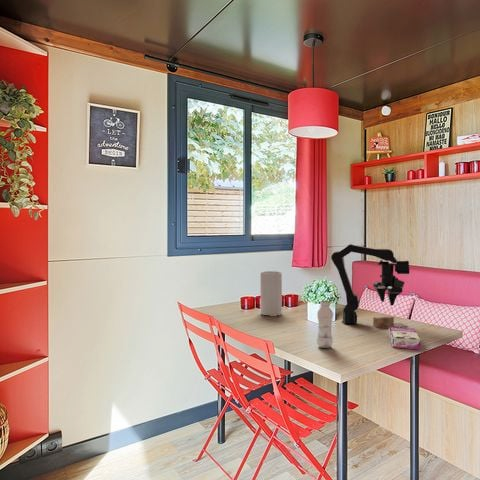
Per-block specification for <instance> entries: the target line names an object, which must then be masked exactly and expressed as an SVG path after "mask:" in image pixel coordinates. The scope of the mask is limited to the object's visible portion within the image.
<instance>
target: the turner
mask: <svg viewBox="0 0 480 480" xmlns="http://www.w3.org/2000/svg"><path fill="white" fill-rule="evenodd" d="M394 320H395V317H394V316H391V315H390V316H374V317H373V321H372V323H373V328H375V329H381V328H380V327H384V328H389V327H398V328H399V327H401V328H408V327H409V325H407V324H405V323H402V322H397V323H395V322H394Z"/></svg>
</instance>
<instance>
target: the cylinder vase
mask: <svg viewBox="0 0 480 480" xmlns="http://www.w3.org/2000/svg"><path fill="white" fill-rule="evenodd" d="M282 273H283V272H282V271H274V270H272V271H271V270H266V271H260V314H261V315H262V314H263V315H262V316H264V315H270V316H269V317H276V316H275V315H279V316H282V313H283V307H282V305H283V303H282V302H283V299H282V298H283V296H282V295H283V293H282V290H283V289H282V288H283V287H282V284H283V283H282V282H283V279H282V278H283V275H282Z"/></svg>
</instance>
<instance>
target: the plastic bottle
mask: <svg viewBox="0 0 480 480" xmlns="http://www.w3.org/2000/svg"><path fill="white" fill-rule="evenodd" d="M330 305H331V304H330V300H329V301H328V300H320V307H319V309H318V310H317V314H316V315H317V320H318V322H317V323H318V331H317V338H316V344H317V346H318V347H319V348H322V349H329V348H332V346H333V345H334V341H333V337H332V336H333V334H332V332H333V331H332V327H333V326H332V323H333V318H334V317H333V316H334V312H333V310H332V309H331V308H330Z"/></svg>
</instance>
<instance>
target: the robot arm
mask: <svg viewBox="0 0 480 480" xmlns="http://www.w3.org/2000/svg"><path fill="white" fill-rule="evenodd" d="M350 253H356V254H361V255H366V256H372V257H376V258H378V259H380V261H379V262H377V265H379V266H381V274H380V275H379V277H380V278H381V281H374V282H373V288H374V289H375V291H376V293H377V294H378V296H379V299H380V301H381V302H382V303H383V302H385V299H386V297H385V295H386V294H387V296H388V301H389V304H390V306H394V304H395V302H396V299H397V297H398V295H401V294H402V293H403V292H404V291H403V289H404V286H405V281H403V280H401V279H399V278H398V277H396V275H394V272H395V273H397V275H410V261H409V260H398V259H397V258H396V257H395V256H394V251H392V249H390V248H373V247H367V246H361V245H355V244H353V243H351V244H348V245H347V246H346V247H344V248H343V249H341V250H340V251H335V252H333V253H332V254H331V257H330V258H331V261H332V262H333V264H334V266H335V267H336V270H337V272H338V275H339V277H340V278H339V279H340V281H341V283H342V287H343V289H344V292H345V297H346V298H345V299H346V304H345V305H344V307H343V309H342V310H343V311H342V321H341V322H342V323H343V324H344V325H346V326H350V325H353V326H354V325H358V314H357V312H356V311H357V310H358V309H359V307H360V302H361V299H360V298H359V294H358V293H355V292H354V290H353V288H352V287H353V286H352V285H351V281H350V279H349V276H348V273H347V272H348V271H347V269H346V265H345V257H346V256H348V255H349V254H350ZM390 262H391V263H390ZM386 292H387V293H386Z"/></svg>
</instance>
